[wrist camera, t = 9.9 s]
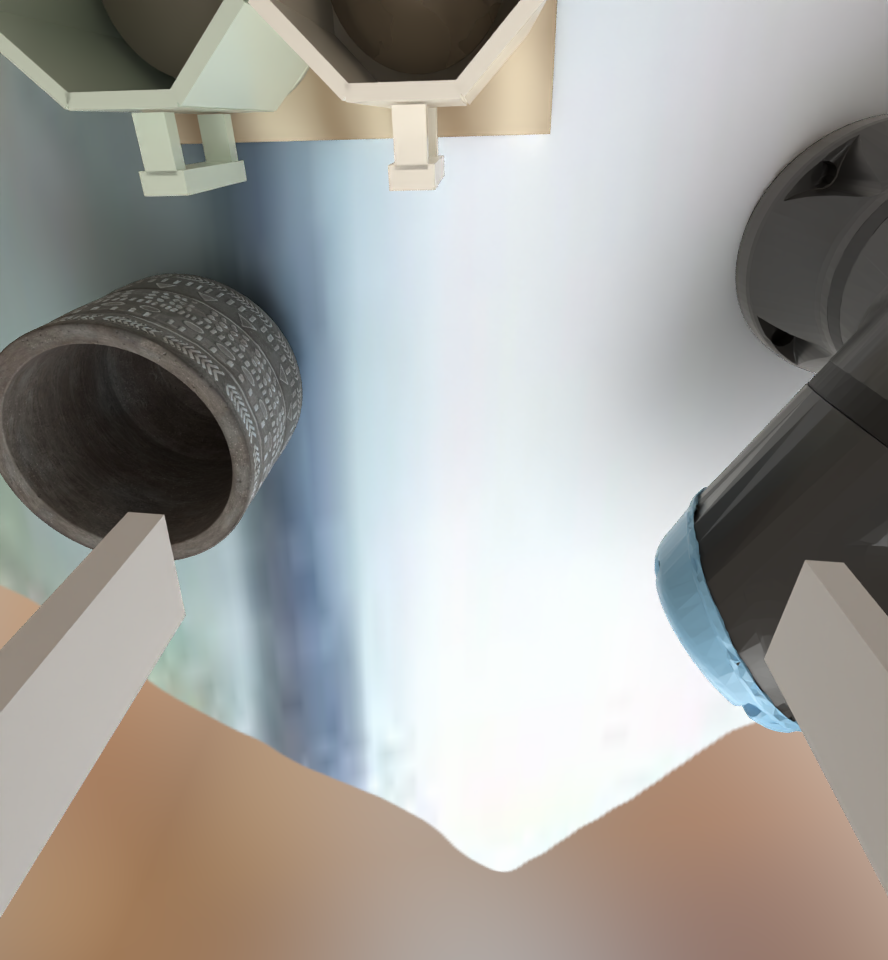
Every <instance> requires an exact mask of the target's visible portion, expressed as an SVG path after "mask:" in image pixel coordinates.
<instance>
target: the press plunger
mask: <svg viewBox="0 0 888 960" xmlns="http://www.w3.org/2000/svg"><path fill="white" fill-rule="evenodd" d="M331 3H332V6H333V9H334V11H335V13H336V15H337V17H338V19H339V21H340V23H341V25H342V26H343V28H344V29H345V31H346V33H347V34H348V36H349V37H350V38H351V39H352V40H353V42H354V43H355V44H356V45H357V46H358V47H359V48H360V49H361V50H362V51H363V52H364V53H365V54H366V55H368V56H369V57H370V58H372V59H373V60H374V61H376V62H378V63H379V64H381V65H383V66H385V67H387V68H389V69H392V70H394V71H397V72H401V73H405V74H413V75H424V74H432V73H436V72H440V71H443V70H445V69H448V68H450V67H452V66H454V65H456V64H457V63H459V62H460V61H462V60H464V59H465V58H466V57H467V56H468V55H469V54H471V53H472V52H473V51H474V50H475V49H476V48H477V46H478V45H479V44H480V43H481V42H482V41H483V39H484V38H485V36H486V35H487V33H488V32H489V30H490V29H491V27H492V25H493V23H494V21H495V19H496V17H497V14H498V12H499V9H500V7H501V4H502V0H331Z"/></svg>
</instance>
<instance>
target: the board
mask: <svg viewBox="0 0 888 960" xmlns="http://www.w3.org/2000/svg"><path fill="white" fill-rule="evenodd" d="M556 14H557V0H547V1H546V2H545V4H544V6H543V8H542V10H541V12H540V13H539V15H538V17H537V19H536V21H535V23H534V24H533V26H532V28H531V30H530V32H529V34H528V35H527V36H526V38H525V39H524V40H523V41H522V42H521V44H520V45H519V46H518V47H517V48H516V50H515V51H514V52H513V53H512V54H511V56H510V57H509V58H508V59H507V60H506V62H505V63H504V64H503V65H502V66H501V68H500V69H499V70H498V72H497V73H496V74H495V75H494V76H493V77H492V78H491V80H490V81H489V82H488V83H487V84H486V86H485V87H484V88H483V89H482V90H481V92H480V93H479V94H478V95H477V96H476V98H475V99H474V100H473V101H472V102H471V104H470V105H469V104H468V103H467V106H450V107H436V108H437V119H438V137H458V136H494V135H531V134H550V128H551V109H552V90H553V71H554V52H555V33H556ZM427 108H435V107H427ZM218 114H230V115H231V121H232V127H233V133H234V139H235V143H238V142H275V141H311V140H348V139H385V138H393V124H392V108H383V107H376V106H369V105H362V104H356V103H349V102H346V101H342V100H341V99H340V98H339V97H338V96H337V95H336V94H335V93H334V92H333V91H332V89H331V88H330V87H329V86H328V85H327V84H326V83H325V82H324V81H323V80H322V79H321V78H320V77H319V76H318V75H317V74H316V73H315V72H314V71H313V70H312V69H311V68H310V69H309V70H308V72H307V74H306V75H305V77H304V79H303V80H302V81H301V82H300V84H299V85H298V86H297V87H296V88H295V89H294V90H293V91H292V92H291V93H290V94H289V95H288V96H287V97H285V99H284V100H283V102H282V103H281V105H280V106H279V107H278V109H277V110H276V111H274V112H251V113H218ZM174 115H175V120H176V124H177V129H178V134H179V139H180V144H202V138H201V132H200V127H199V122H198V117H197V115H202V114H177V113H174Z"/></svg>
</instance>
